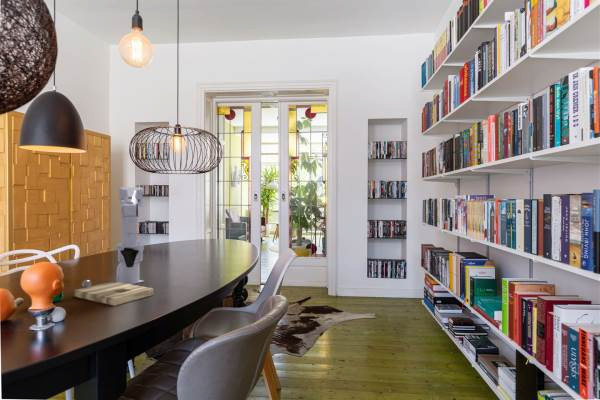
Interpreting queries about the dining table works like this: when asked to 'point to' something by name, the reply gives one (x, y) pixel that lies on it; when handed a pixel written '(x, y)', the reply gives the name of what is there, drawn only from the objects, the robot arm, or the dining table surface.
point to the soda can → (58, 297)
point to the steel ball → (86, 283)
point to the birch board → (113, 293)
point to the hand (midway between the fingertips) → (129, 267)
